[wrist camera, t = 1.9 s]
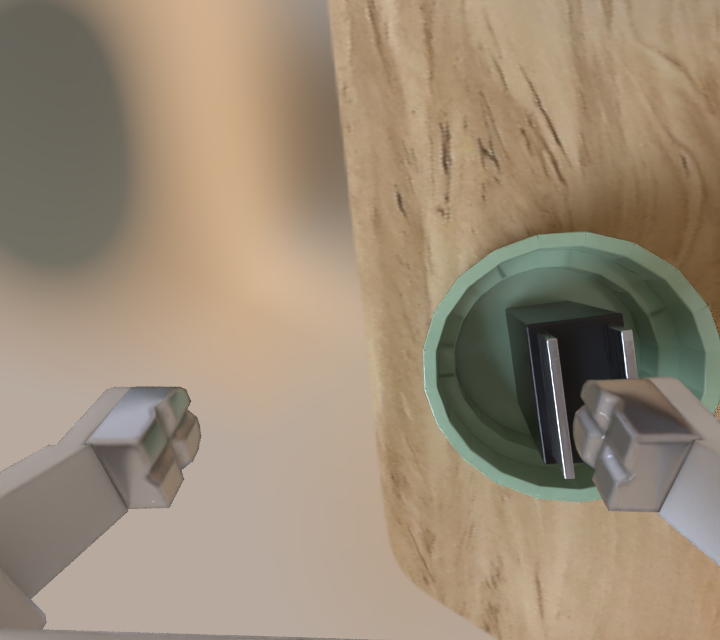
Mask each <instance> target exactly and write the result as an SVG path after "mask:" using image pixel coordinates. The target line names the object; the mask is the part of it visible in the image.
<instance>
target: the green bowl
mask: <svg viewBox="0 0 720 640" xmlns="http://www.w3.org/2000/svg"><path fill="white" fill-rule="evenodd" d="M567 300H568V301H572V302H576V303H581V304H585V305H589V306H593V307H597V308H602V309H606V310H610V311H614V312H618V313H622V314H623V318H624V327H625V328H628V329H631V330H632V332H633V340H634V349H635V358H636V366H637V375H638V378H643V377H668V376H671V377H673V378H676V379H678V380H680V381H681V382H682V383H683V384H684V385H685V386H686V387H687V388H688V389H689V390H690V391H691V392H692V393H693V394H694V395H695V397H696V398H697V399H698V400H699V401H700V402H701V403H702V404H703V405H704V406H705V407H706V408H707V409H708V410H709V411H710V412H711V413H712V414H713V415H714V412H715V410H716V408H717V406H718V404H719V401H720V337H719V334H718V331H717V328H716V325H715V322H714V320H713V317H712V314H711V311H710V308H709V306H708V305H707V303H706V302H705V301H704V300H703V298H702V297H701V296H700V295H699V294H698V292H697V291H696V290H695V289H694V288H693V286H692V285H691V284H690V283H689V282H688V280H687V279H686V278H685V277H684V276H683V274H682V273H681V272H680V271H679V270H678V269H676V267H675V266H673V265H671V264H670V263H668V262H666V261H665V260H663V259H661V258H660V257H658V256H656V255H655V254H653V253H651V252H650V251H648V250H646V249H645V248H643V247H641V246H640V245H638V244H636V243H634V242H630V241H626V240H622V239H618V238H613V237H609V236H605V235H601V234H596V233H592V232H585V231H580V232H565V233H549V234H539V235H534V236H531V237H529V238H526V239H523V240H520V241H518V242H515V243H512V244H510V245H507V246H504V247H502V248H499V249H496V250H494V251H492V252H491V253H490V254H488V255H487V256H486V257H484V258H483V259H482V260H480V261H479V262H478V263H476V264H475V265H474V266H472V267H471V268H470V269H469V270H467V271H466V272H465V273H463V274H462V275H461V276H459V278H458V279H457V280H456V281H455V283H454V284H453V286H452V287H451V288H450V290H449V291H448V293H447V294H446V296H445V297H444V298H443V300H442V301H441V303H440V304H439V305H438V307H437V308H436V310H435V312H434V314H433V318H432V321H431V324H430V327H429V331H428V334H427V337H426V341H425V344H424V347H423V349H424V350H423V374H424V390H425V393H426V396H427V399H428V401H429V404H430V407H431V410H432V413H433V415H434V418H435V421H436V424H437V425H438V427H439V429H440V430H441V431H442V432H443V434H444V435H445V436H446V438H447V439H448V440H449V442H450V443H451V444H452V446H453V447H454V448H455V450H456V451H457V452H458V454H459V455H460V456H461V457H462V458H463V459H464V460H465V461H467V462H468V463H469V464H471V465H472V466H474V467H475V468H476V469H478V470H479V471H480V472H482V473H483V474H484V475H486V476H487V477H489V478H490V479H491V480H493V481H494V482H496V483H497V484H500V485H502V486H505V487H508V488H510V489H513V490H516V491H518V492H521V493H524V494H526V495H529V496H532V497H534V498H538V499H548V500H559V501H571V502H582V501H583V502H588V501H593V500H598V499H602V497H601V495H600V493H599V492H598V490H597V488H596V486H595V484H594V482H593V480H592V478H593V475H594V472H595V469H594V468H593V467H591V466H590V465H588V464H587V463H573V466H574V474H575V478H574V479H565V478H564V476H563V474H562V472H561V470H560V468H559V466H558V464H544V463H543V461H542V458H541V456H540V454H539V451H538V449H537V447H536V444H535V442H534V440H533V437H532V435H531V433H530V430H529V428H528V426H527V423H526V421H525V419H524V416H523V414H522V412H521V409H520V407H519V404H518V400H517V393H516V386H515V378H514V371H513V364H512V356H511V349H510V342H509V334H508V327H507V320H506V313H505V310H506V309H509V308H516V307H523V306H531V305H538V304H545V303H552V302H560V301H567Z"/></svg>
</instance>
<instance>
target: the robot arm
mask: <svg viewBox="0 0 720 640" xmlns="http://www.w3.org/2000/svg"><path fill="white" fill-rule="evenodd" d="M580 396H581V398H582V400H583V401H584V403H585V405H584V406H582V407H581V408H580V409H579V410H578V411H576V412H575V416H574V421H573V439H574V442H575V445H576V449H577V451H578V453H579V455H580V457H581V459H582V460H583V461H584V462H586V463H587V464H588V465H590V466H591V467H593V468H594V469H595V472H594V475H593V478H592V480H593V482H594V484H595V486H596V488H597V490H598V492H599V493H600V495H601V497H602V499H603V501H604V503H605V505H606V507H607V509H608V510H609V511H632V512H659V514H658V515H659V516H660V517H662V518H663V519H664V520H665V521H666V522H668V523H669V524H670V525H671V526H672V527H674V528H675V529H676V530H677V531H678V532H680V533H681V534H682V535H683V536H684V537H686V538H687V539H688V540H689V541H690V542H691V543H693V544H694V545H695V546H696V547H697V548H699V549H700V550H701V551H702V552H703V553H705V554H706V555H707V556H708V557H709V558H711V559H712V560H713V561H714V562H715V563H716V564H718V565H719V566H720V421H719V420H718V419H717V418H716V417H715V416H714V415H713V414H712V413H711V412H710V411H709V410H708V409H707V408H706V407H705V406H704V405H703V404H702V403H701V402H700V401H699V400H698V399H697V398H696V397H695V395H694V394H693V393H692V392H691V391H690V390H689V389H688V388H687V387H686V386H685V385H684V384H683V383H682V382H681V381H680V380H678V379H676V378H673V377H671V376H668V377H643V378H629V379H588V380H587V381H586V382H585V383H584V385H583V387H582V390H581V394H580ZM190 403H191V400H190V397H189V395H188V393H187V390H186V389H184V388H182V387H113V388H110V389H107V390H106V391H105V392H104V393H103V394H102V395H101V396H100V397H99V398H98V399H97V401H96V402H95V403H94V404H93V405H92V406H91V407H90V408H89V409H88V411H87V412H86V413H85V414H84V415H83V416H82V417H81V418H80V419H79V420H78V421H77V423H76V424H75V425H74V426H73V427H72V428H71V429H70V430H69V431H68V432H67V433H66V435H65V436H64V437H63V438H62V439H61V440H60V441H59V443H57V445H48V446H46V447H44V448H42V449H40V450H39V451H37V452H35V453H33V454H32V455H30V456H28V457H26V458H24V459H22V460H21V461H19V462H17V463H15V464H14V465H12V466H10V467H8V468H6V469H4V470H3V471H1V472H0V640H364V639H335V638H302V637H270V636H269V637H268V636H237V635H205V634H172V633H140V632H138V633H137V632H108V631H76V630H73V631H72V630H43V627H44V626H45V624H46V616H45V614H44V613H43V612H42V610H41V609H40V608H39V607H38V606H37V605H36V604H35V603H34V602H33V601H32V600H31V598H33V597H34V596H35V595H36V594H37V593H38V592H39V591H40V590H41V589H43V587H45V586H46V585H47V584H48V583H49V582H50V581H51V580H53V579H54V578H55V577H56V576H57V575H58V574H59V573H60V572H61V571H63V570H64V568H66V567H67V566H68V565H69V564H70V563H71V562H73V561H74V560H75V559H76V558H77V557H78V556H79V555H80V554H81V553H82V552H84V551H85V550H86V549H87V548H88V547H89V546H90V545H91V544H92V543H94V542H95V541H96V540H97V539H98V538H99V537H100V536H101V535H102V534H104V533H105V532H106V531H107V530H108V529H109V528H110V527H111V526H112V525H114V523H116V522H117V521H118V520H119V519H120V518H121V517H122V516H124V515H125V514H126V513H127V512H128V509H142V508H143V509H146V508H169V507H170V506H171V504H172V502H173V500H174V498H175V496H176V494H177V492H178V490H179V488H180V486H181V484H182V482H183V480H184V477H183V474H182V469H184V468H185V467H186V466H187V465H189V464H190V463H191V462H193V460H194V458H195V456H196V454H197V452H198V449H199V444H200V439H201V432H200V424H199V421H198V419H197V417H196V416H195V415H194V414H192V413H191V412H190V411H189V410H187V409H188V406H189V405H190ZM365 640H366V639H365Z"/></svg>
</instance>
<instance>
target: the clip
mask: <svg viewBox="0 0 720 640" xmlns="http://www.w3.org/2000/svg"><path fill="white" fill-rule="evenodd" d="M505 313H506V320H507V327H508V334H509V342H510V349H511V356H512V364H513V371H514V378H515V386H516V393H517V400H518V404H519V407H520V409H521V412H522V414H523V416H524V419H525V421H526V423H527V426H528V428H529V430H530V433H531V435H532V437H533V440H534V442H535V444H536V447H537V449H538V451H539V454H540V456H541V458H542V461H543V463H544V464H558V466H559V468H560V470H561V472H562V474H563V476H564V478H565V479H574V478H575V474H574V466H573V463H586V462H584V461H583V460H582V459H581V457H580V455H579V453H578V451H577V449H576V445H575V442H574V439H573V421H574V416H575V412H576V411H578V410H579V409H580V408H581V407H582V406H584V405H585V403H584V401H583V400H582V398H581V396H580V394H581V390H582V387H583V385H584V383H585V382H586V381H587V380H588V379H629V378H638V375H637V366H636V358H635V349H634V340H633V332H632V330H631V329H628V328H625V327H624V318H623V314H622V313H618V312H614V311H610V310H606V309H602V308H597V307H593V306H589V305H585V304H581V303H576V302H572V301H568V300H567V301H560V302H552V303H545V304H538V305H531V306H523V307H516V308H509V309H506V310H505Z"/></svg>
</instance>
